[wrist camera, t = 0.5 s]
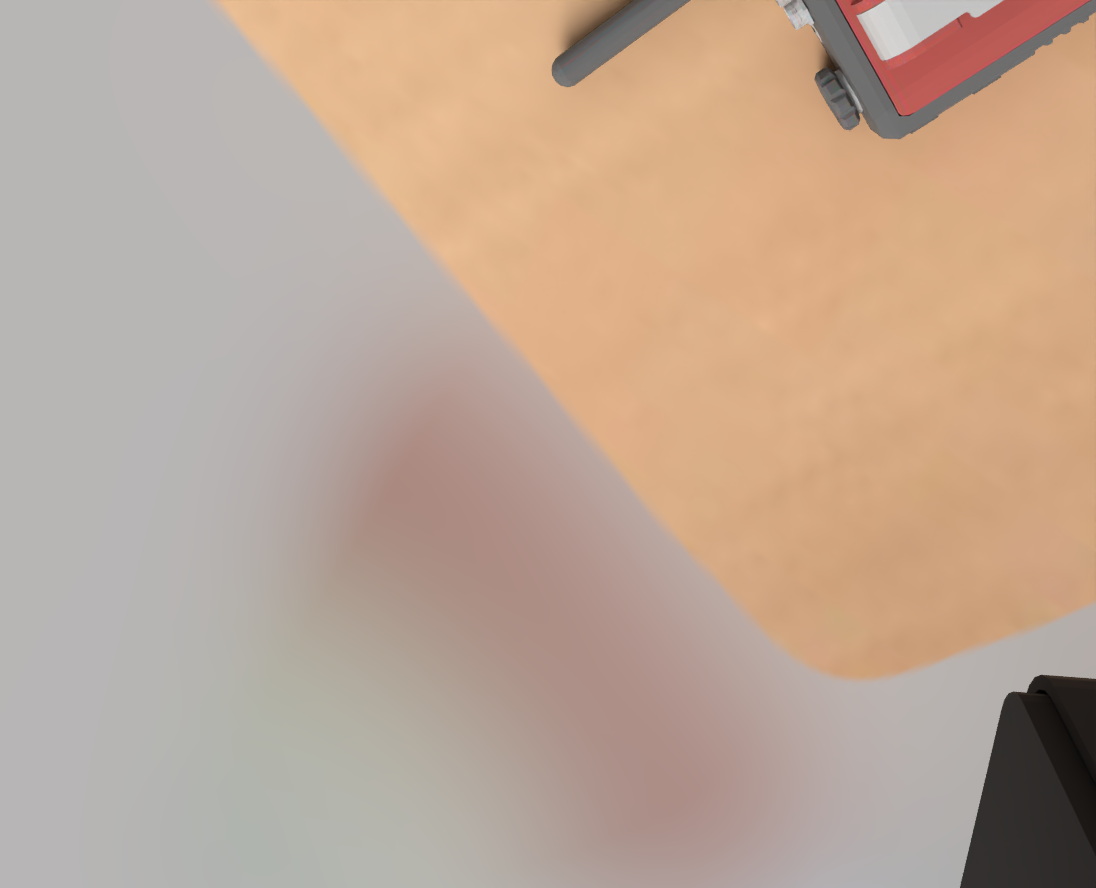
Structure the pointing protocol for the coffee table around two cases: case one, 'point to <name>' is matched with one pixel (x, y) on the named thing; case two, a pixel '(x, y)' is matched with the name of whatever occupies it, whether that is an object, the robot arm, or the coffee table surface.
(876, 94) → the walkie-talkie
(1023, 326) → the coffee table surface
